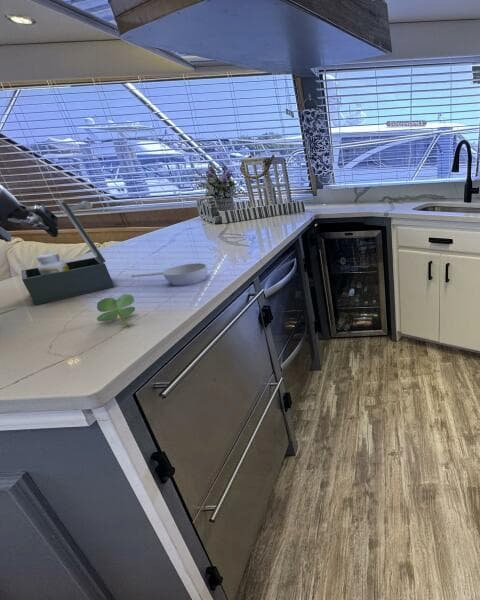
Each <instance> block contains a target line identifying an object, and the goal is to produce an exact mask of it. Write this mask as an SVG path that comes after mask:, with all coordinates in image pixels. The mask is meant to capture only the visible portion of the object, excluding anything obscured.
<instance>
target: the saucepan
mask: <svg viewBox="0 0 480 600" xmlns="http://www.w3.org/2000/svg"><path fill="white" fill-rule="evenodd" d="M157 275H159V276H161V275H163V276H164V278H165V280H166V281H167V282H168V283H170V284H171V285H173V286H187V285H192V284H193V285H194V284H196V283H200V282H202V281H204V280H205V279H206V277H207V275H208V266H207V264H205V263H201V262H200V263H187V264H180V265H177V266H173V267H170V268H167V269H165V270H164V271H155V272H144V273H134V274H132V275H131V277H132V278H137V277H147V276H150V277H151V276H157Z"/></svg>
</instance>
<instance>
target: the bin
mask: <svg viewBox="0 0 480 600" xmlns="http://www.w3.org/2000/svg"><path fill="white" fill-rule="evenodd" d="M65 263H66V264H67V266H68V268H69V270H67V271H62V272H56V273H51V274H46V275H41V273H40V272H39V270H38V267H33V268H27V269H21V271H20V273H21V281H22V282H23V284H24V286H25V288H26V289H27V291H28V294H29V295H30V297H31V299H32V302H34V304H35V306H38V305H42V304H47V303H51V302H56V301H59V300H63V299H68V298H73V297H77V296H82V295H85V294H90V293H94V292H99V291H102V290H106V289H111V288H115V285H114V284H115V283H114V281H113V280H112V277H111V275H110V272H109V270H108V268H107V265H106V262H103V263H102V262H101V261H100V260H99V259H98V258H97V257H96V256H94V257H89V258H84V259H77V260H71V261H67V262H65Z"/></svg>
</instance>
